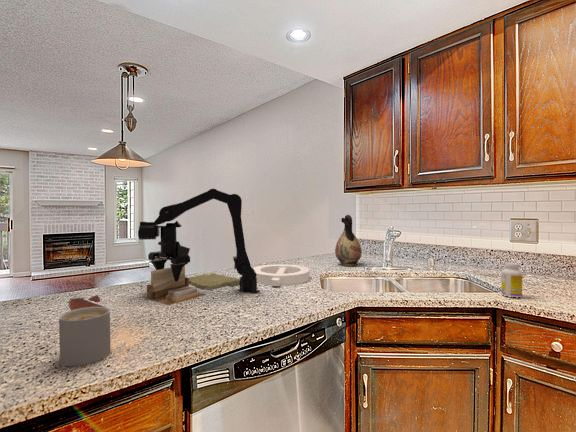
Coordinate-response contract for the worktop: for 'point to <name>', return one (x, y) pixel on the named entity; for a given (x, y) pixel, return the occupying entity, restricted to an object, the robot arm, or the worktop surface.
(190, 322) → the worktop surface
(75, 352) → the coffee mug
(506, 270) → the supplement bottle
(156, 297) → the walnut rack
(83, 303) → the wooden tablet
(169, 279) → the birch sheet
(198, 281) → the decorative tile
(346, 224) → the ceramic jug
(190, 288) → the grey offcut
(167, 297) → the oak offcut
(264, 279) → the ring with crossbar
